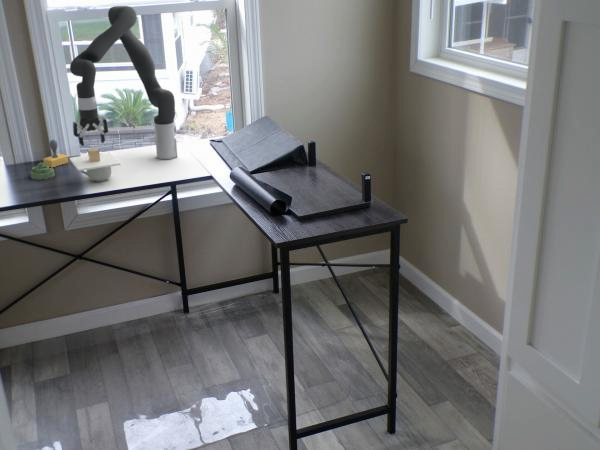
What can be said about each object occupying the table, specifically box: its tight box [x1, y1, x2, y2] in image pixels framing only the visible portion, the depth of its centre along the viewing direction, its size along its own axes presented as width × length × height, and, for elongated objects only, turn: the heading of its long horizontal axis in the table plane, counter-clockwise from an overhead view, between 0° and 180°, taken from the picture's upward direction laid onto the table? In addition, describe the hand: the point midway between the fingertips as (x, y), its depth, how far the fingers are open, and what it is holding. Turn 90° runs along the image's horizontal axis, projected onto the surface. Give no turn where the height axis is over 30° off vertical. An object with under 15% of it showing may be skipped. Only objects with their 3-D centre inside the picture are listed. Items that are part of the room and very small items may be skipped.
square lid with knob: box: [68, 147, 121, 172], centre depth 294 cm, size 18×18×6 cm
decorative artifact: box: [29, 161, 55, 181], centre depth 300 cm, size 10×7×10 cm
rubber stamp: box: [42, 139, 69, 169], centre depth 315 cm, size 10×6×12 cm, turn 150°
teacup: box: [80, 166, 112, 183], centre depth 296 cm, size 14×11×8 cm
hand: (92, 143), depth 291 cm, fingers open, 8 cm apart
